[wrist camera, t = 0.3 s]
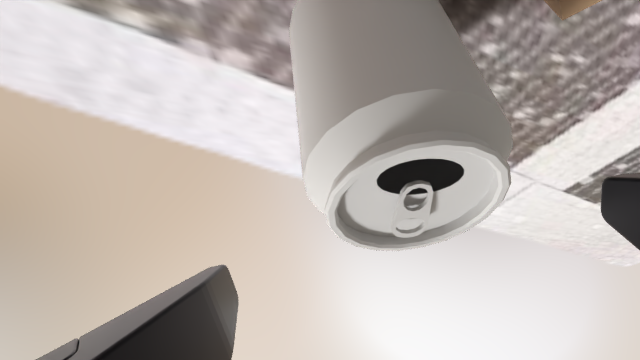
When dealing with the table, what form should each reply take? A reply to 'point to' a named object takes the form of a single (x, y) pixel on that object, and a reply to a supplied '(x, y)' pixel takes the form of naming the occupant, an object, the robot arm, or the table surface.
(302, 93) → the can
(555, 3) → the tan block
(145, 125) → the table surface
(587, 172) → the table surface
